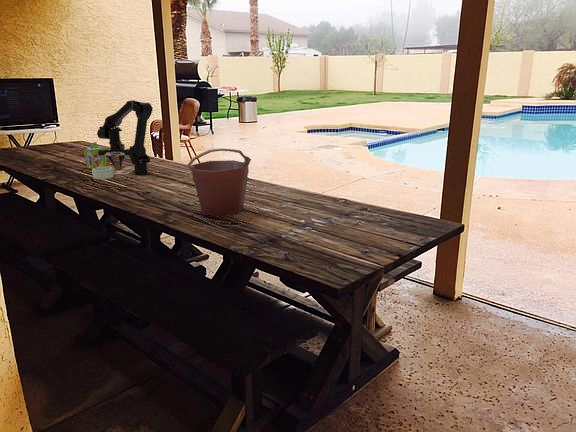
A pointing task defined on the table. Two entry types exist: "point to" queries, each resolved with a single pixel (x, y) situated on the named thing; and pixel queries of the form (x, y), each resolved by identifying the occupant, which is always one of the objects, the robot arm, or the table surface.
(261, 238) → the table surface
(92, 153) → the chalk box
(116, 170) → the beige square tray
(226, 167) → the bucket
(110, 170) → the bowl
